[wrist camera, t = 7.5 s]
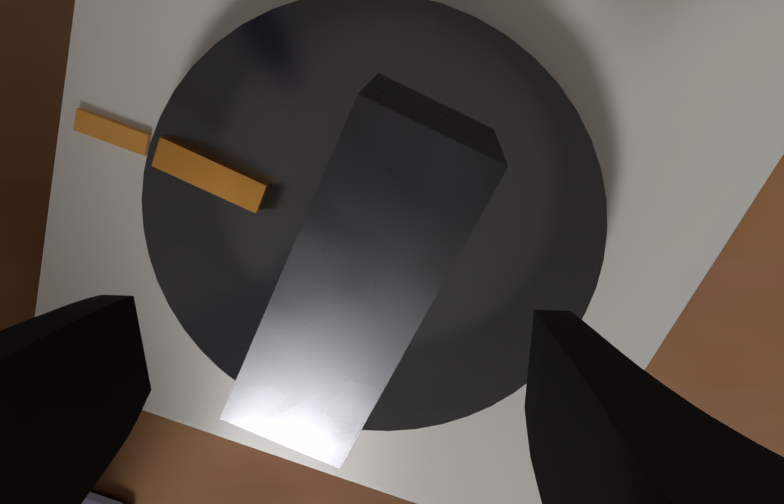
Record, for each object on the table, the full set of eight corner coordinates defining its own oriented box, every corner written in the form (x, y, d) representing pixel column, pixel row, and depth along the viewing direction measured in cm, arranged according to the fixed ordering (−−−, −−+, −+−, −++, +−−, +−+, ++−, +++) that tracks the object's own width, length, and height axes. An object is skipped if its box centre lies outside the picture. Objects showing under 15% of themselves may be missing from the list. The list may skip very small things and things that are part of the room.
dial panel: (527, 509, 22) (533, 547, 20) (55, 346, 21) (23, 374, 19) (831, 17, 15) (876, 18, 13) (145, -263, 14) (108, -297, 12)
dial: (693, 127, 15) (792, 175, 10) (466, 464, 19) (471, 590, 15) (239, -103, 13) (147, -150, 9) (113, 313, 18) (14, 405, 14)
